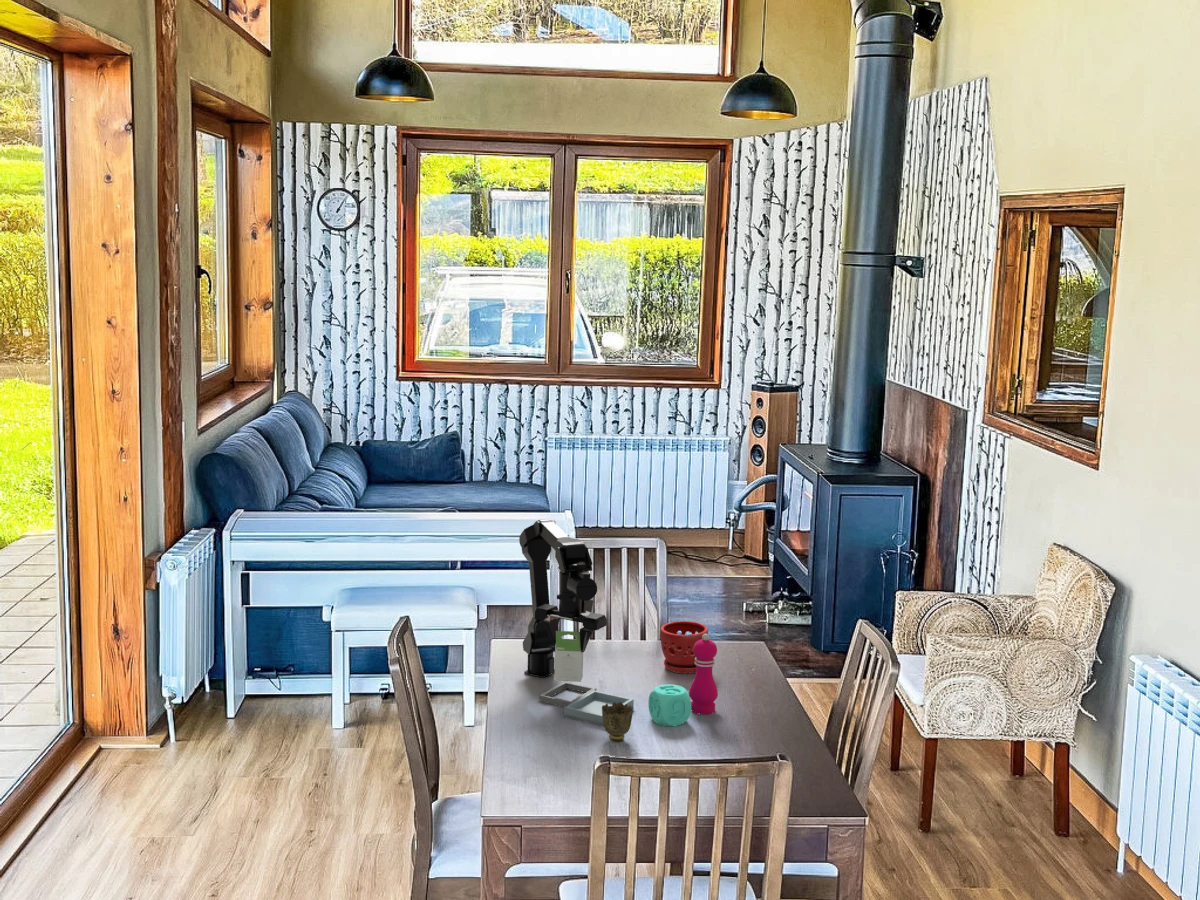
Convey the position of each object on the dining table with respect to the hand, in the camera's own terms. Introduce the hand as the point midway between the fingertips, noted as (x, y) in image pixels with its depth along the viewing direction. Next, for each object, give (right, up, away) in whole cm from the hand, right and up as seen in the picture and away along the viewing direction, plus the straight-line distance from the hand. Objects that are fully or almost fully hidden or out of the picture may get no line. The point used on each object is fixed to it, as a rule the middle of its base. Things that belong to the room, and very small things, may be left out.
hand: (569, 649), depth 326 cm
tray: (+8, -15, -8) cm, 18 cm away
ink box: (0, -8, +1) cm, 8 cm away
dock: (0, -13, +2) cm, 13 cm away
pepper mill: (+34, -15, -4) cm, 37 cm away
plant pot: (+31, -10, +27) cm, 42 cm away
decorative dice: (+25, -16, -12) cm, 32 cm away
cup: (+12, -18, -25) cm, 33 cm away
